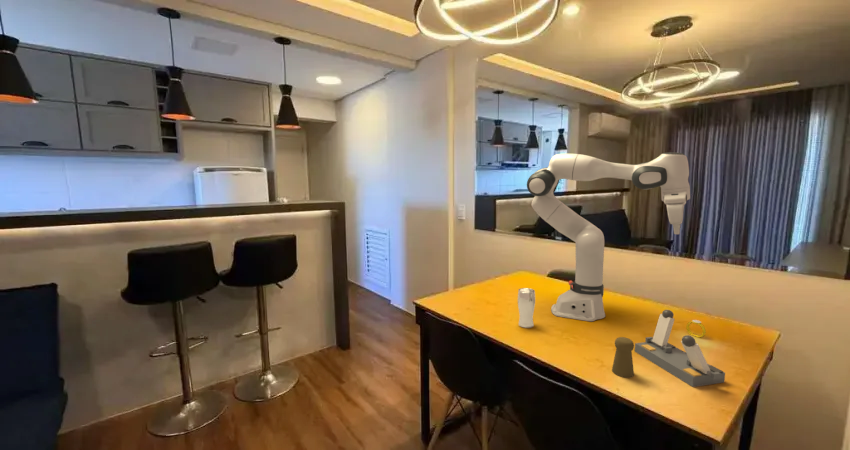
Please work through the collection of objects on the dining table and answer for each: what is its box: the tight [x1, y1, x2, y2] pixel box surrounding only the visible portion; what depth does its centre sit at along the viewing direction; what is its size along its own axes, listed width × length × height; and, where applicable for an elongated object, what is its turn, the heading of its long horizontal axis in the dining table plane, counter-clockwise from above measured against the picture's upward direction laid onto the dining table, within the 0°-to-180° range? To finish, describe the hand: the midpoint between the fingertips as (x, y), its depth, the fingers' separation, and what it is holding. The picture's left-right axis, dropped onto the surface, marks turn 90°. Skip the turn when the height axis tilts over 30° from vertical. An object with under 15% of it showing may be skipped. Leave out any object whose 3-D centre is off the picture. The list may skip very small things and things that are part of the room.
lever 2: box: [680, 334, 712, 376], centre depth 103 cm, size 3×6×13 cm
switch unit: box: [634, 336, 726, 388], centre depth 112 cm, size 11×24×5 cm, turn 10°
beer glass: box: [517, 287, 536, 329], centre depth 147 cm, size 7×7×15 cm
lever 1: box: [650, 309, 675, 349], centre depth 120 cm, size 3×6×13 cm, turn 11°
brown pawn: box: [611, 336, 635, 379], centre depth 110 cm, size 6×6×11 cm
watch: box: [686, 319, 707, 339], centre depth 134 cm, size 6×3×6 cm, turn 23°
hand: (677, 231), depth 135 cm, fingers open, 8 cm apart
